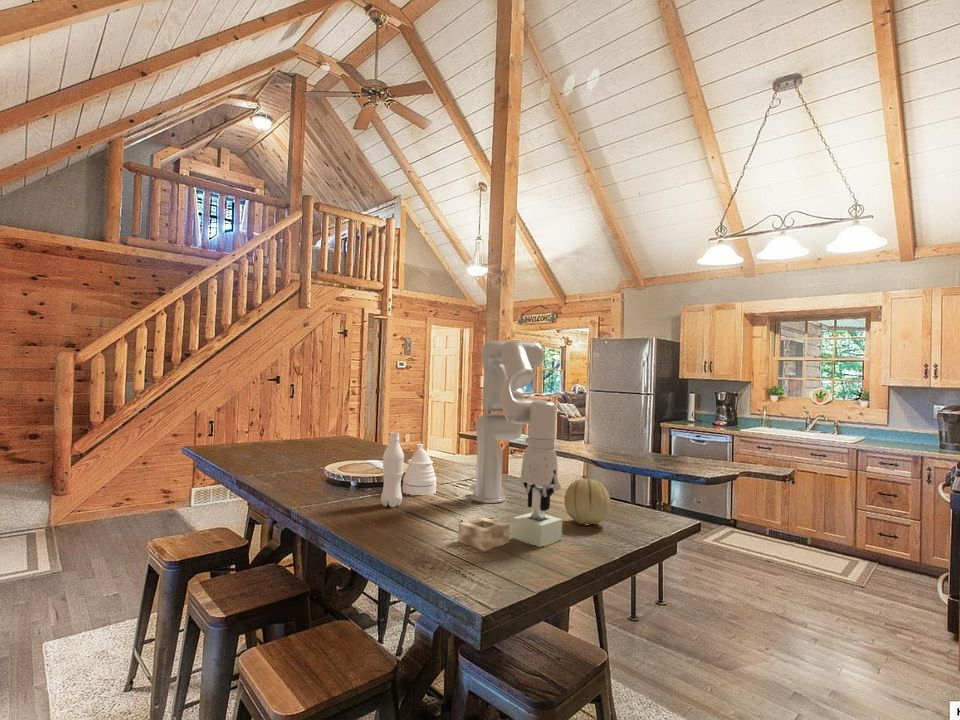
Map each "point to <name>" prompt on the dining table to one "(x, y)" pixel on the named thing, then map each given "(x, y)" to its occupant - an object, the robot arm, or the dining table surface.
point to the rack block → (537, 529)
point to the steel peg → (537, 504)
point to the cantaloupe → (587, 501)
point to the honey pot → (419, 474)
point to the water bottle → (392, 472)
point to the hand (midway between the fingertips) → (538, 507)
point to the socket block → (483, 533)
